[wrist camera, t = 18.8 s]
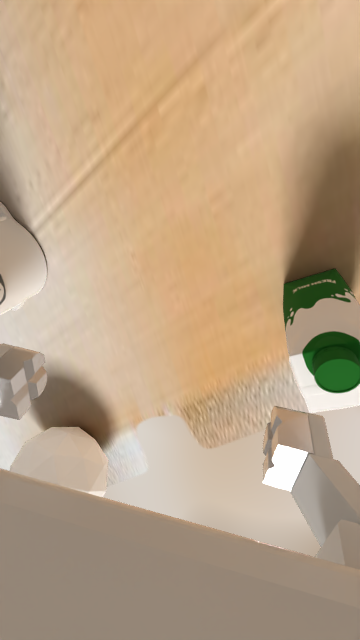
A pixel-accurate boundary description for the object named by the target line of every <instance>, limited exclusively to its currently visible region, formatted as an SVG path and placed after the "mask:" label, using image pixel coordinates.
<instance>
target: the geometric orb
mask: <svg viewBox="0 0 360 640" xmlns="http://www.w3.org/2000/svg"><path fill="white" fill-rule="evenodd" d="M108 463H109V460H108V458H107V457H106V455H105V454H104V452H103V451H102V449H101V448H100V446H99V444H98V443H97V441H96V440H95V439H94V438H93V437H91V436H90V435H89V434H87V433H86V432H85V431H83V430H82V429H80V428H79V427H51V428H49V429H47V430H45V431H44V432H42V433H40V434H38V435H37V436H35V437H33V438H31V439H30V440H28V441H26V442H25V444H24V445H23V447H22V448H21V450H20V452H19V453H18V455H17V456H16V458H15V460H14V461H13V463H12V465H11V466H10V471H11V472H14V473H18V474H21V475H25V476H29V477H32V478H36V479H39V480H43V481H46V482H50V483H53V484H57V485H60V486H64V487H68V488H71V489H75V490H78V491H82V492H85V493H89V494H92V495H96V496H99V497H103V495H104V494H105V492H106V487H107V475H108Z"/></svg>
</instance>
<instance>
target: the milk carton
mask: <svg viewBox="0 0 360 640" xmlns="http://www.w3.org/2000/svg"><path fill="white" fill-rule="evenodd" d="M283 312H284V322H285V331H286V340H287V348H288V353H289V363H290V366H291V369H292V372H293V376H294V379H295V381H296V384H297V386H298V389H299V390H300V392H301V394H302V396H303V397H304V399H305V402H306V405H307V408H308V410H309V413H315V412H321V411H328V410H335V409H342V408H348V407H355V406H360V305H359V304H358V302H357V300H356V298H355V296H354V295H353V293H352V291H351V289H350V288H349V286H348V285H347V284H346V282H345V281H344V280H343V278H342V277H341V275H340V274H339V273H338V271H337V270H336V269H332V270H329V271H325V272H322V273H319V274H315V275H312V276H309V277H305V278H302V279H299V280H295V281H292V282H289V283H285V284H284V295H283Z"/></svg>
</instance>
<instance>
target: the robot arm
mask: <svg viewBox="0 0 360 640" xmlns="http://www.w3.org/2000/svg"><path fill="white" fill-rule="evenodd" d="M46 277H47V266H46V261H45V258H44V255H43V252H42V250H41V248H40V246H39V245H38V243H37V242H36V240H35V239H34V238H33V236H32V235H31V234H30V233H29V232H28V231H27V230H26V229H25V228H24V227H23V226H21V225H20V224H19V223H18V222H17V221H15V220H14V219H13V217H12V216H11V214H10V213H9V211H8V210H7V208H6V207H5V206H4V205H3V204H2V203H1V202H0V315H1V314H3V313H5V312H7V311H8V310H10V309H11V310H18V309H19V308H21V307H22V306H23V304H24V303H25V301H26V300H27V299H28V298H30V297H32V296H34V295H36V294H37V293H39V292H40V291H41V289H42V288H43V286H44V284H45V282H46ZM44 363H45V358H44V354H42V353H40V352H36V351H32V350H28V349H24V348H20V347H17V346H16V347H15V346H11V345H7V344H4V343H3V344H0V416H4V417H8V418H13V419H17V420H20V419H21V418H22V416H23V415H24V414H25V413H26V412H27V410H28V409H29V408H30V407H31V400H33V399H35V398H37V397H39V396H40V395H41V393H42V392H43V390H44V388H45V386H46V383H47V372H46V370H45V369H44V368H43V366H42V365H43V364H44ZM263 453H264V454H265V456H266V458H265V460H264V463H263V483H265V484H269V485H272V486H275V487H279V488H282V489H286V490H289V491H291V494H292V496H293V498H294V500H295V501H296V503H297V505H298V507H299V509H300V510H301V512H302V514H303V516H304V518H305V519H306V521H307V523H308V525H309V526H310V528H311V530H312V532H313V534H314V535H315V537H316V539H317V541H318V543H319V545H320V546H321V548H320V550H319V551H318V553H317V554H316V556H315V557H313V556H310V555H306V554H302V553H298V552H295V551H291V550H288V549H285V548H281V547H278V546H274V545H270V544H267V543H263V542H260V541H256V540H253V539H249V538H246V537H242V536H238V535H235V534H231V533H228V532H224V531H221V530H217V529H214V528H210V527H206V526H203V525H199V524H196V523H192V522H189V521H185V520H181V519H178V518H174V517H171V516H167V515H164V514H160V513H156V512H153V511H149V510H145V509H142V508H139V507H135V506H131V505H128V504H124V503H120V502H117V501H113V500H110V499H106V498H103V497H99V496H96V495H92V494H89V493H85V492H82V491H78V490H75V489H71V488H68V487H64V486H60V485H57V484H53V483H50V482H46V481H43V480H39V479H36V478H32V477H29V476H25V475H21V474H18V473H14V472H11V471H7V470H4V469H0V640H360V485H359V484H358V483H357V482H356V480H355V479H354V478H353V477H352V476H351V475H350V473H349V472H348V471H347V470H346V469H345V468H344V467H343V466H342V464H341V463H340V462H339V461H338V460H334V459H333V455H332V451H331V446H330V442H329V437H328V433H327V428H326V423H325V419H324V417H323V416H320V415H315V414H311V413H305V412H301V411H296V410H291V409H287V408H282V407H278V406H274V408H273V410H272V413H271V422H270V423H268V424H267V427H266V430H265V435H264V441H263Z"/></svg>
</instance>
